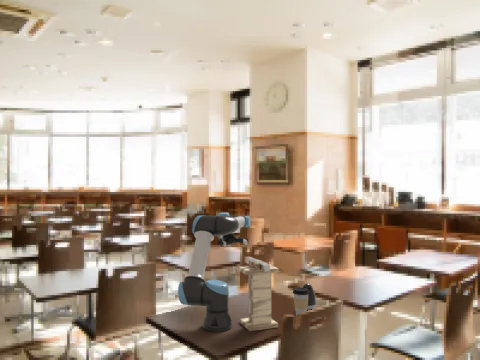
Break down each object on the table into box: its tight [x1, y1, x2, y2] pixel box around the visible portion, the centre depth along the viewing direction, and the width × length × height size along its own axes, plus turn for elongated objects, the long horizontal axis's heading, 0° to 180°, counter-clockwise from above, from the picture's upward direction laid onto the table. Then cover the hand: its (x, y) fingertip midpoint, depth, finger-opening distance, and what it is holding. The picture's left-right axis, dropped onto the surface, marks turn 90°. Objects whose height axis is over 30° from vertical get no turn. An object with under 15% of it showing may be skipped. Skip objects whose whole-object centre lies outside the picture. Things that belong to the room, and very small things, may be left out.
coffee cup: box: [292, 287, 309, 317], centre depth 229 cm, size 9×9×15 cm
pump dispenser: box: [301, 283, 317, 311], centre depth 242 cm, size 10×10×15 cm
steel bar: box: [244, 256, 271, 272], centre depth 217 cm, size 28×3×3 cm, turn 20°
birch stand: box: [237, 259, 280, 332], centre depth 214 cm, size 14×18×33 cm
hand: (236, 244), depth 249 cm, fingers open, 13 cm apart
